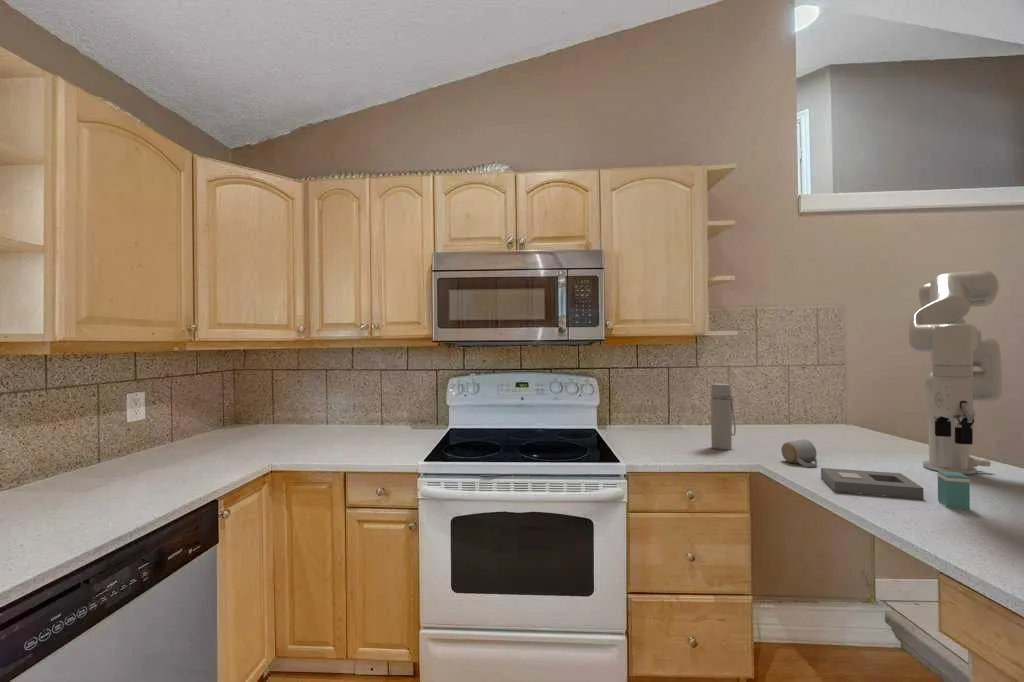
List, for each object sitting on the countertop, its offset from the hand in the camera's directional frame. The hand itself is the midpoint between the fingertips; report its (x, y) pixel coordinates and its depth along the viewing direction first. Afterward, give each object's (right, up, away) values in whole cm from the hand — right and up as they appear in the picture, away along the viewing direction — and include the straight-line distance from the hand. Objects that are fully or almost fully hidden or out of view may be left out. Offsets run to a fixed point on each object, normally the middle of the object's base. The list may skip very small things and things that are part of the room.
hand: (952, 439), depth 119 cm
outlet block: (-10, -17, +15) cm, 25 cm away
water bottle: (-29, -17, +64) cm, 72 cm away
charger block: (+1, -17, +1) cm, 17 cm away
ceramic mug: (-13, -17, +41) cm, 46 cm away
